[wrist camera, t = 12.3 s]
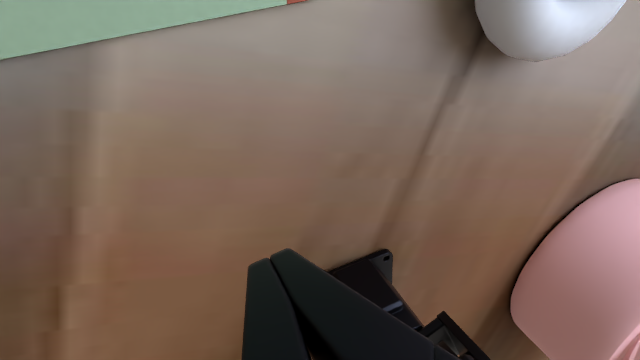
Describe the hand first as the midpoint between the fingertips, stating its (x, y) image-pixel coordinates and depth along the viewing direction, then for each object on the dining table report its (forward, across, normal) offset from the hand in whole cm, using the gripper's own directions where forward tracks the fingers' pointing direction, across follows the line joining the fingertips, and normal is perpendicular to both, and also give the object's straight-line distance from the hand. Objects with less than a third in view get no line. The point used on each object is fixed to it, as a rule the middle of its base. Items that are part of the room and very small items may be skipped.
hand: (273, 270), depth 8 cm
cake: (+12, -31, +31) cm, 46 cm away
